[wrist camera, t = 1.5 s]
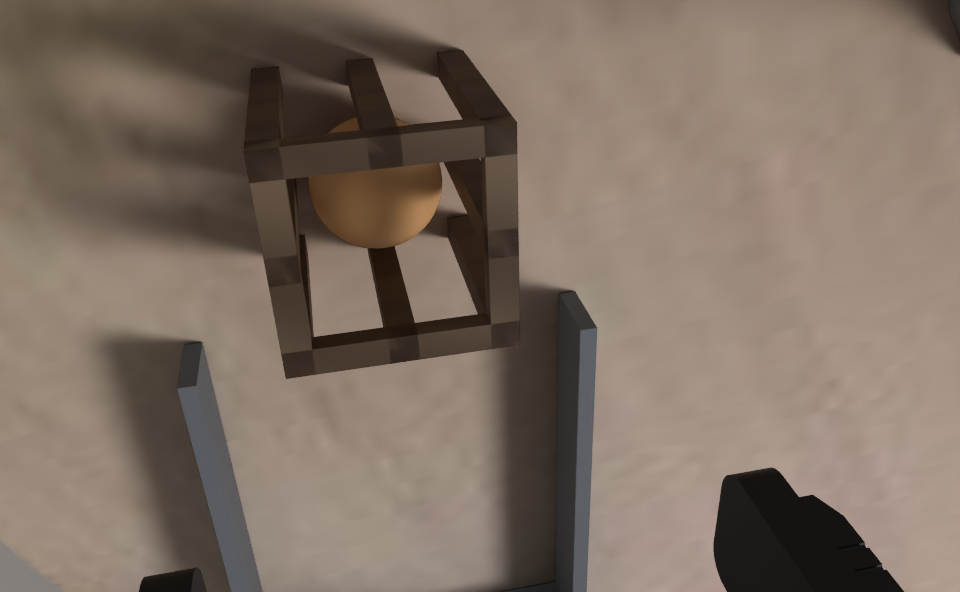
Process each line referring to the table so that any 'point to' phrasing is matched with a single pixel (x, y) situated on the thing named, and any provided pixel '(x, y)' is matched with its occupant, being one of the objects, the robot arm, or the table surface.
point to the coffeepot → (955, 12)
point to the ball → (377, 200)
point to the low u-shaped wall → (571, 456)
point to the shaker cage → (474, 239)
